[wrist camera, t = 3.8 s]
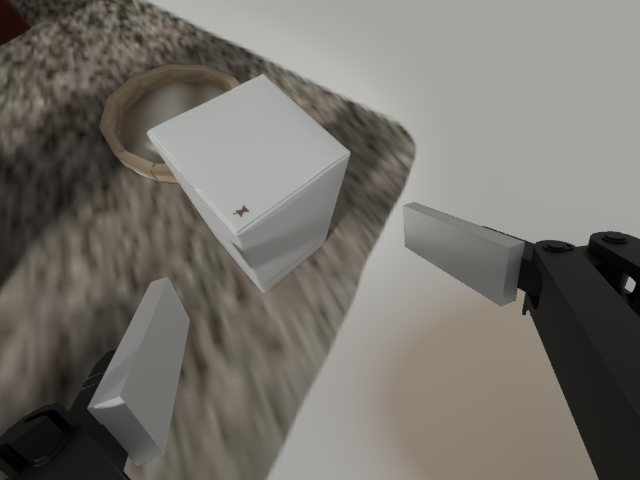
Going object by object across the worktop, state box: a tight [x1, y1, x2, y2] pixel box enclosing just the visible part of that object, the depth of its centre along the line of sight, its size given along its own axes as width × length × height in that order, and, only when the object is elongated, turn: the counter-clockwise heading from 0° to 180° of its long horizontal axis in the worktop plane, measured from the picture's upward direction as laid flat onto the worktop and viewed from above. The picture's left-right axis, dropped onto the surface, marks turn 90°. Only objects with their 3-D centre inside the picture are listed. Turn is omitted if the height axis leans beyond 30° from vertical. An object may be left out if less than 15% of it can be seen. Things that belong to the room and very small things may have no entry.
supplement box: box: [147, 74, 351, 293], centre depth 23 cm, size 9×9×15 cm
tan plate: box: [99, 64, 241, 184], centre depth 33 cm, size 17×17×2 cm
